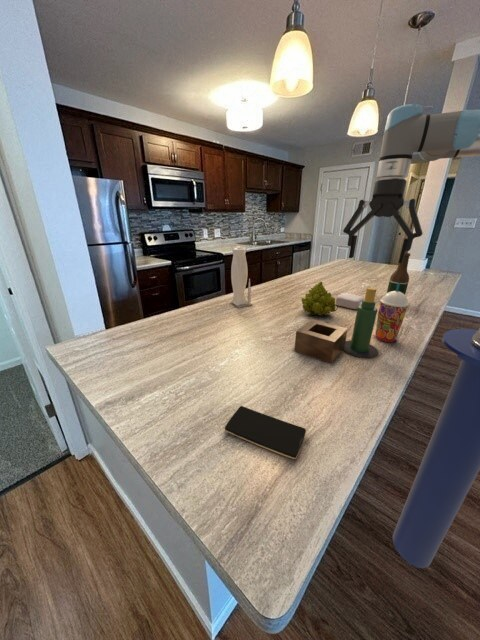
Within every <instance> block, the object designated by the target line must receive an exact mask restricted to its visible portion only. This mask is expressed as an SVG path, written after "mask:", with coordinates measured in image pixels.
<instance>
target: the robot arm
mask: <svg viewBox="0 0 480 640" xmlns="http://www.w3.org/2000/svg"><path fill="white" fill-rule="evenodd" d="M423 110H424V108H423V106H422V105H421V104H417V103H415V104H413V103H410V104H403V105H399V106H397V107H395V108H393V109H392V110H391V111H390V112H389V113H388V115H387V118H386V122H385V127H384V132H383V136H382V142H381V148H380V154H379V160H378V164H377V169H376V176H375V178H376V180H375V182H374V185H373V191H372V197H371V200H366V199H360V200H359V202H358V206H357V208H356V210H355V211H354V212H353V214H352V216H351V218H350V219H349V220H348V222H347V224H346V225H345V227H344V229H343V230H342V232H343V233H344V234H346V235H347V236H348V239H347V247H349V254H348V259H352V258H355V252H356V246H357V240H358V235H356V234H357V233H358V232H359V231H360V230H361V229H362V228H363V227H364V226H365V225H366V224H367V223H368V222H370V221H371V220H372V219H373V218H374V217H376V218H381V217H385V218H391V217H393V218H394V219H395V220H396V222H397V223H398V225H399V226H400V229H402V231H403V232H404V234H405V236H406V237H405V238H403V242H402V246H401V251H400V256H399V258H398V264H399V263H402V262H403V260H404V256H405V253H406V252H410V250H411V249H412V247H413V241H414V239H416V238H420V237H422V236H423V234H424V233H423V230H422V226H421V222H420V219H419V216H418V212H417V209H416V205H417V200H416V199H415V198H411V199H406V200H405V199H404V195H405V191H406V187H407V182H408V181H407V179H406V178H408V177H409V173H410V170H411V164H412V160H413V155H414V153H418V155H419V157H420V158H421V159H422V160H423V161H426V162H435V161H438V160H440V159H441V160H442V159H453V158H467V157H480V109H463V110H457V111H449V112H441V113H434V114H424V111H423ZM368 206H369V208H370V209H371V210H370V211H369V212H368V213H367V214H366V215H365V216H364V218H362V219H361V220H360V222H358V223H357V224H356V222H357V220H358V219H359V217H360V216H361V215H362V213H363V212H364V210H365V209H366V208H367V207H368ZM403 206H405V208H406V209H408V211H409V215H410V218H411V222H412V225H413V228H414V232H413V231H412V229H411V227H410V226H409V225H408V223H407V222H406V220H405V218H404V217H403V216H402V214H401V212H400V211H399V210H401V208H402V207H403ZM355 224H356V225H355ZM353 226H354V227H353ZM477 330H478V331H477V332H476V333H475V334H474V335H473V337H472V339H471V343H472V344H473V345H474V346H475V347H476V348H478V349H480V328H478V329H477Z"/></svg>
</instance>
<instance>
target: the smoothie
mask: <svg viewBox="0 0 480 640" xmlns="http://www.w3.org/2000/svg"><path fill="white" fill-rule="evenodd" d="M399 286H400V283H398V284H397V288H396V291H391V292H388V293H387V292H386V293H385V294H384V295H383V296H382V297H381V298H380V299H379V300H380V301H379V306H378V311H377V319H376V326H375V327H376V328H375V333H374V334H375V337H376V338H377V340H378V341H382V342H385V343H393V342H395V340H396V339H397V338H398V335H399V333H400V330H401V327H402V324H403V321H404V319H405V316H406V314H407V310H408V308H409V305H410V303H409V301H408V298H407V295H406V294H405V295H404V294H403V293H402V292H399V291H398V290H399Z"/></svg>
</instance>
